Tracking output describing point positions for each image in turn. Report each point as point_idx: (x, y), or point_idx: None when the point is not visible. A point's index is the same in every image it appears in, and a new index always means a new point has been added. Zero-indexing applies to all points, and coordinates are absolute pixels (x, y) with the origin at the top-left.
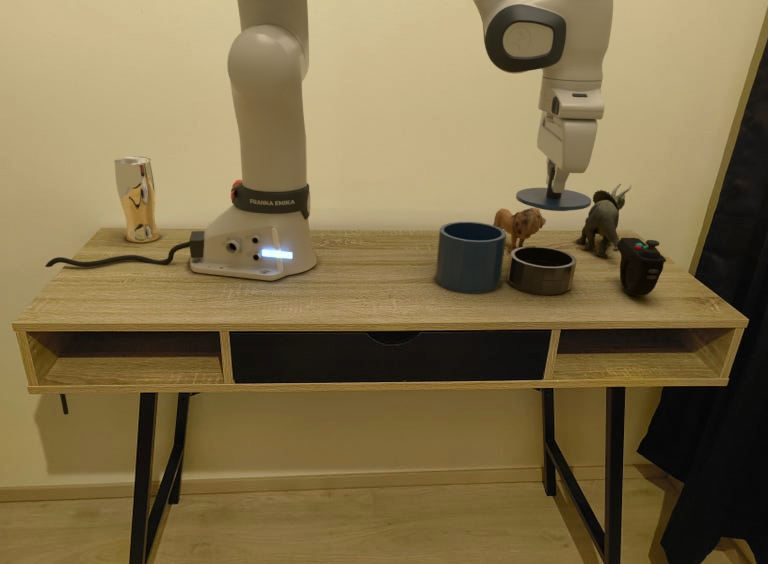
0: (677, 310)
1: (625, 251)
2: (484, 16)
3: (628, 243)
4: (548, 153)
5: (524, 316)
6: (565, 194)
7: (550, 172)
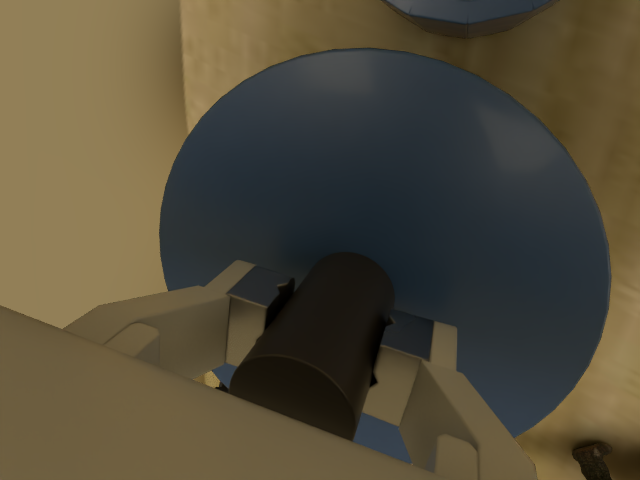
0: None
1: None
2: None
3: None
4: (238, 446)
5: (205, 31)
6: None
7: (296, 338)
